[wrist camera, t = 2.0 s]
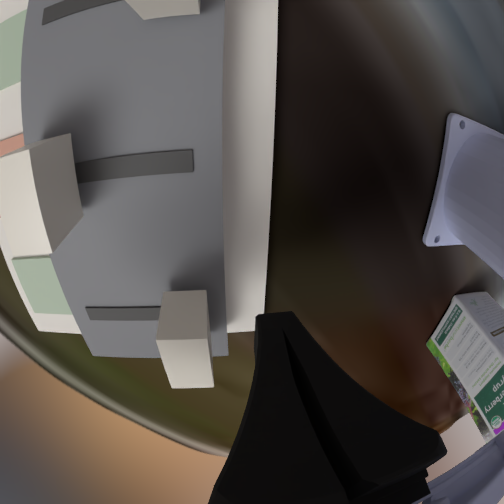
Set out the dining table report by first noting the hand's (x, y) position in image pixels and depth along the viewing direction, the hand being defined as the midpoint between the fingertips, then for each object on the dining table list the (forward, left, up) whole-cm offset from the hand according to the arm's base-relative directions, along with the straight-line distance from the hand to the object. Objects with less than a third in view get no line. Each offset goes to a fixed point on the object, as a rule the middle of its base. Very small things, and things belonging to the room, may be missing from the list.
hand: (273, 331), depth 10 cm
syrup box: (-19, +7, -5) cm, 21 cm away
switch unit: (+7, -6, -4) cm, 10 cm away
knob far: (+3, 0, -1) cm, 3 cm away
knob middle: (+7, -6, -1) cm, 9 cm away
